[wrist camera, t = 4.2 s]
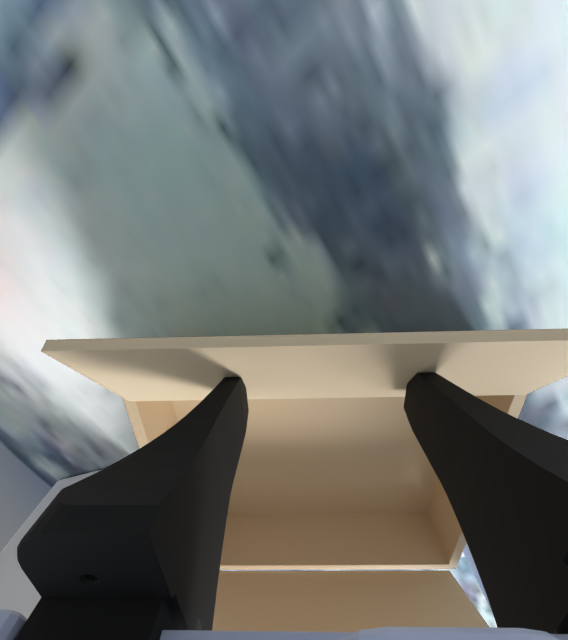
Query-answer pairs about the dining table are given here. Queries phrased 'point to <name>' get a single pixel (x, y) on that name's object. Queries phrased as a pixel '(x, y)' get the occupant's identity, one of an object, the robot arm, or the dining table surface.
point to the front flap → (318, 363)
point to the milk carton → (4, 569)
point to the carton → (330, 485)
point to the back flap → (340, 601)
